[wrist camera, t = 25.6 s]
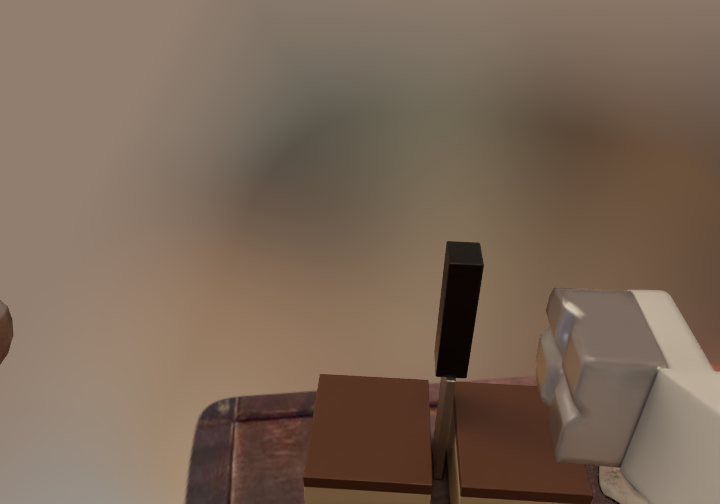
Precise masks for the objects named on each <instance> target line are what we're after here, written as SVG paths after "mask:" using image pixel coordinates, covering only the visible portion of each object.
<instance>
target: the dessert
mask: <svg viewBox="0 0 720 504" xmlns="http://www.w3.org/2000/svg"><path fill="white" fill-rule="evenodd" d="M619 470H620V468H616V467H605V466H600V467H599V480H600V486H601V490H602V492H603V493H604V494H605V495H606V496H608V497H610V498H612V499H614V500H615V501H617V502H619V503H620V504H649V503H648V502H647V500H646V499H645V498H644V497H643V496H642V495H641V494H640V493H639V492H638V491H637V489H636V488H635V487H634V486H633V485H632V484H631V483H630V482H629V481H628V480H627V478H626V477H625V476H624V475H623V474H622V473H621V472H620V471H619Z"/></svg>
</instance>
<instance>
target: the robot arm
mask: <svg viewBox="0 0 720 504" xmlns="http://www.w3.org/2000/svg"><path fill="white" fill-rule="evenodd" d="M546 312H547V316H548V319H549V323H550V327H549V328H548V329H546V330H545V331H544V332H543V333H542V334H540V338H539V344H538V348H537V356H536V358H537V359H536V378H537V386H538V390H539V395H540V399H541V400H542V401H543V402H545V403H546V404H547V405H548V406H549V407H550V410H549V414H548V418H547V422H546V424H547V428H548V432H549V436H550V440H551V444H552V448H553V452H554V456H555V460H556V462H558V463H570V464H582V465H593V466H605V467H616V468H620V470H619V471H620V472H621V473H622V474H623V475H624V476H625V477H626V478H627V480H628V481H629V482H630V483H631V484H632V485H633V486H634V487H635V488H636V489H637V491H638V492H639V493H640V494H641V495H642V496H643V497H644V498H645V499H646V500H647V502H648V503H649V504H720V372H716V371H714V369H713V368H712V366H711V364H710V363H709V361H708V359H707V357H706V356H705V354H704V352H703V351H702V349H701V347H700V345H699V344H698V342H697V341H696V339H695V337H694V335H693V334H692V332H691V330H690V328H689V327H688V325H687V323H686V322H685V320H684V318H683V316H682V315H681V313H680V311H679V310H678V308H677V306H676V305H675V303H674V301H673V299H672V298H671V296H670V295H669V294H668V293H666V292H665V291H663V290H661V291H660V290H626V291H618V290H595V289H571V288H554V289H553V290H552V293H551V294H550V296H549V301H548V304H547V308H546ZM12 338H13V324H12V317H11V315H10V312H9V309H8V306H6V305H5V304H4V303H3V302H2V301H1V300H0V364H1V363H2V361H3V360H4V358H5V357H6V355H7V354H8V351H9V348H10V344H11V341H12Z"/></svg>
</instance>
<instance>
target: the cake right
mask: <svg viewBox="0 0 720 504" xmlns="http://www.w3.org/2000/svg"><path fill="white" fill-rule="evenodd" d="M549 410H550V407H549V406H548V405H547V404H546V403H545V402H543V401H542V400H541V399H540V395H539V390H538V386H523V385H505V384H488V383H470V382H456V384H455V391H454V398H453V405H452V412H451V419H450V426H449V434H448V441H447V463H448V479H449V494H450V504H591V501H592V498H593V492H592V488H591V485H590V481H589V477H588V474H587V470H586V467H585V465H582V464H570V463H558V462H556V460H555V456H554V452H553V448H552V444H551V440H550V436H549V432H548V428H547V424H546V422H547V418H548V414H549Z"/></svg>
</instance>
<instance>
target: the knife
mask: <svg viewBox="0 0 720 504" xmlns="http://www.w3.org/2000/svg"><path fill="white" fill-rule="evenodd" d="M483 267H484V264H483V258H482V253H481V246H480V243H473V242H472V243H471V242H454V241H453V242H452V241H447V245H446V253H445V262H444V271H443V280H442V289H441V298H440V308H439V316H438V325H437V334H436V343H435V372H436V376H437V377H441V383H440V391H439V399H438V407H437V415H436V423H435V431H434V440H433V467H434V479H442V476H443V469H444V462H445V455H446V448H447V441H448V434H449V426H450V419H451V412H452V405H453V398H454V391H455V384H456V378H466V377H467V371H468V365H469V358H470V352H471V345H472V338H473V332H474V326H475V319H476V313H477V306H478V300H479V293H480V287H481V280H482V274H483Z"/></svg>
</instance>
